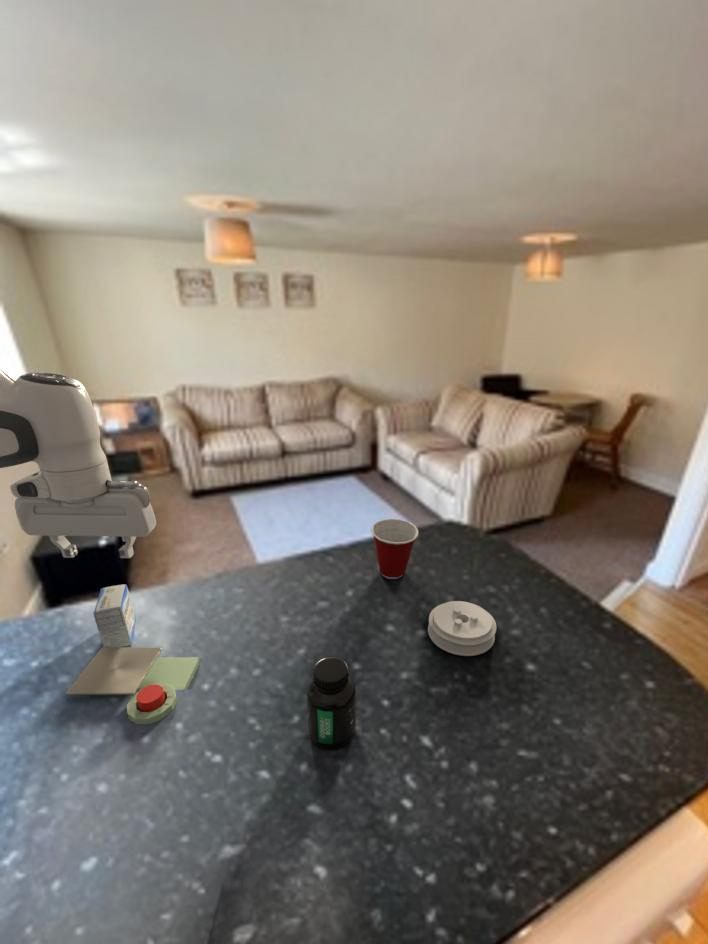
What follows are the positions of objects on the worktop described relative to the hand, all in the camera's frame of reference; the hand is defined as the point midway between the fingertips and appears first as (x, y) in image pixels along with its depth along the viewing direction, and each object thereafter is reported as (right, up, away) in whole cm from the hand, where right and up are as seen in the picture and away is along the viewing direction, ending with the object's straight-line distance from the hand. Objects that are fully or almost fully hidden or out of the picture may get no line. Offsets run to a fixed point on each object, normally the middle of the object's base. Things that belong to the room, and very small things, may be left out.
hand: (99, 556), depth 76 cm
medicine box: (0, -16, +7) cm, 17 cm away
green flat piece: (+9, -21, -5) cm, 24 cm away
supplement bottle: (+41, -25, -10) cm, 49 cm away
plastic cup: (+51, -7, +29) cm, 59 cm away
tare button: (+14, -21, -10) cm, 27 cm away
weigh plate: (+6, -18, -5) cm, 19 cm away
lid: (+63, -17, +10) cm, 66 cm away
